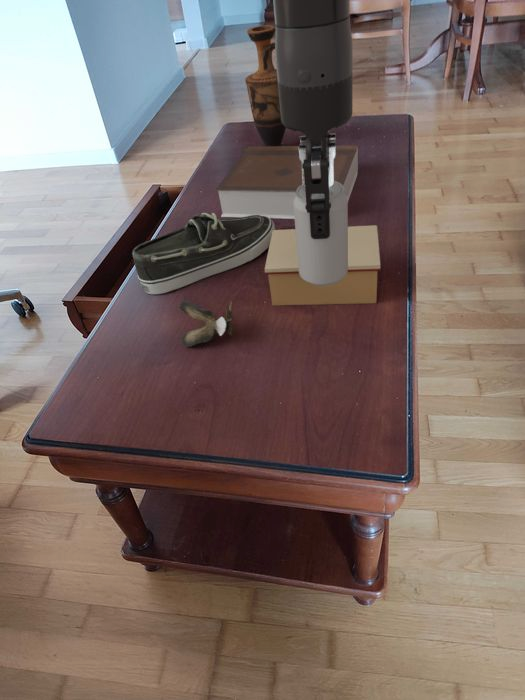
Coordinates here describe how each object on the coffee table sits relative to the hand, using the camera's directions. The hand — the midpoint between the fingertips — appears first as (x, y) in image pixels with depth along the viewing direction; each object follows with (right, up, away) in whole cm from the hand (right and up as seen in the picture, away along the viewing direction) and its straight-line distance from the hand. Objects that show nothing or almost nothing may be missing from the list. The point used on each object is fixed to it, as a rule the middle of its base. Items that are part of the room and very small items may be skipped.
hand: (321, 222), depth 62 cm
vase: (-4, +39, +81) cm, 90 cm away
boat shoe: (-17, +2, +42) cm, 45 cm away
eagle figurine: (-16, -13, +24) cm, 32 cm away
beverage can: (+1, -6, +5) cm, 8 cm away
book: (0, +22, +60) cm, 64 cm away
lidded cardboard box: (+4, -4, +31) cm, 32 cm away
